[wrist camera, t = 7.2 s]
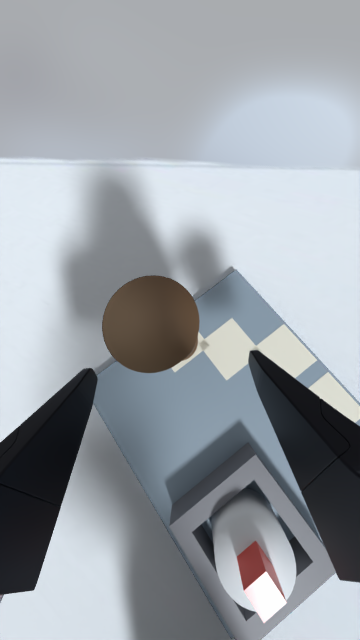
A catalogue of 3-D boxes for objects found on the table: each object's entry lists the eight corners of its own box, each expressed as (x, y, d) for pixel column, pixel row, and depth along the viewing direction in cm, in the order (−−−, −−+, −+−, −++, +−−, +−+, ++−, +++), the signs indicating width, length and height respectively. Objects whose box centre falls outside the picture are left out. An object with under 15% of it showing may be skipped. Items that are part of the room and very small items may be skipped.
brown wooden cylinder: (175, 368, 18) (136, 403, 6) (153, 338, 19) (77, 312, 7) (205, 345, 18) (228, 331, 6) (182, 315, 19) (161, 251, 7)
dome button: (240, 582, 14) (261, 682, 10) (198, 514, 15) (200, 579, 11) (292, 536, 14) (334, 615, 10) (247, 473, 16) (268, 520, 11)
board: (229, 623, 15) (237, 686, 12) (87, 384, 19) (70, 389, 16) (409, 463, 16) (456, 487, 13) (234, 272, 20) (240, 260, 17)
